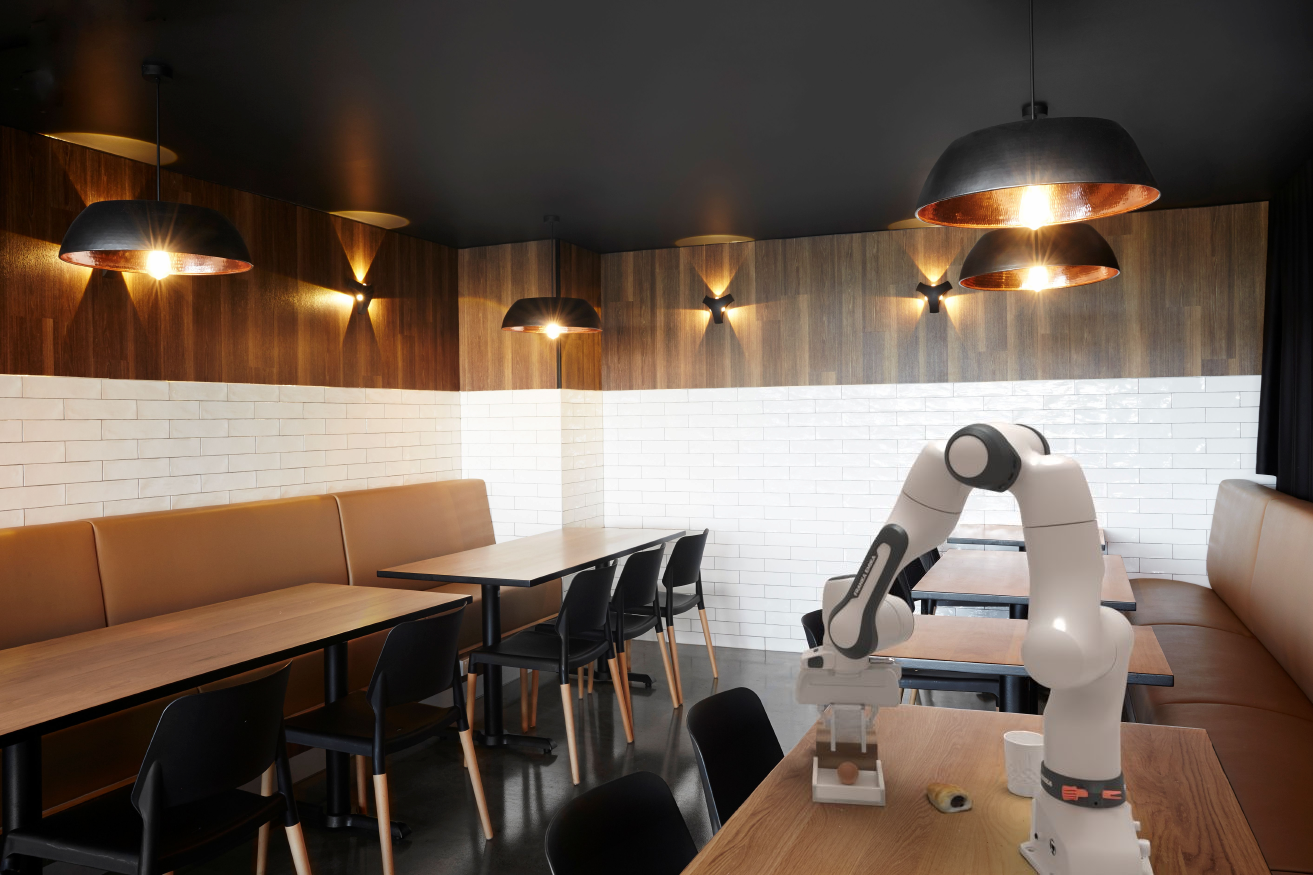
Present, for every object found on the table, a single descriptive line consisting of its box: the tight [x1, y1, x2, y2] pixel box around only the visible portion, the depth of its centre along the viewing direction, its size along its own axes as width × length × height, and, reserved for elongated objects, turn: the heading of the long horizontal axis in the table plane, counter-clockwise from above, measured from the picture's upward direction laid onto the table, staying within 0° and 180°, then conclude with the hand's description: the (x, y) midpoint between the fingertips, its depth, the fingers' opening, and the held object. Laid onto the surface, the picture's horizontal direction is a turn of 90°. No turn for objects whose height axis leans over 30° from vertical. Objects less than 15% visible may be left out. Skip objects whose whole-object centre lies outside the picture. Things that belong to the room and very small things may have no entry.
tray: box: [811, 756, 886, 807], centre depth 169 cm, size 15×13×3 cm
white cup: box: [1003, 730, 1044, 799], centre depth 166 cm, size 8×8×10 cm
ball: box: [837, 762, 859, 784], centre depth 169 cm, size 4×4×4 cm
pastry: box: [925, 781, 974, 814], centre depth 162 cm, size 9×7×4 cm
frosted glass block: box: [829, 703, 866, 752], centre depth 174 cm, size 6×7×9 cm
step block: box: [815, 721, 879, 771], centre depth 183 cm, size 12×12×6 cm
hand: (847, 727), depth 174 cm, fingers closed on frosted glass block, 7 cm apart
